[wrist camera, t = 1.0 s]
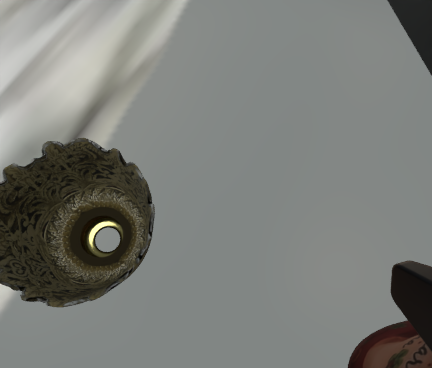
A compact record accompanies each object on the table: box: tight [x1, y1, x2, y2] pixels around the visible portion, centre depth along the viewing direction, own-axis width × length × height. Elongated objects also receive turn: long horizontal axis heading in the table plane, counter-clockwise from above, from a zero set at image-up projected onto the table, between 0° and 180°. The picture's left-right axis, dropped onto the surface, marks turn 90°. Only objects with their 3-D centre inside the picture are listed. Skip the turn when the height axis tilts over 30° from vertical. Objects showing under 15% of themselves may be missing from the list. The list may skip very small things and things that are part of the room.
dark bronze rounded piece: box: [0, 138, 155, 307], centre depth 18 cm, size 8×7×8 cm
